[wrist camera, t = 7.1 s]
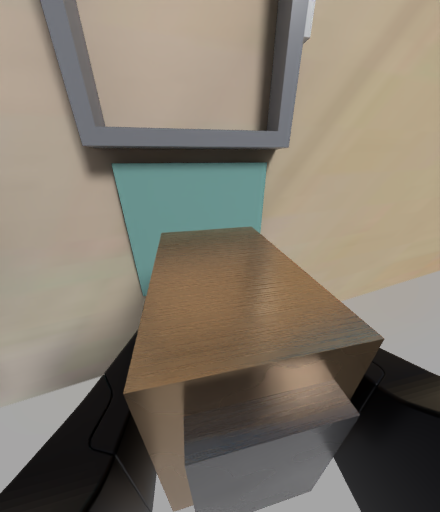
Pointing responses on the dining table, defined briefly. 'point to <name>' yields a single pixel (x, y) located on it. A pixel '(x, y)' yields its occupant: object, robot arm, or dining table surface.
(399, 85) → the dining table surface
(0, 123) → the dining table surface
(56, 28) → the grey tapered frame
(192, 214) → the service mat
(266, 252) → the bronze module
